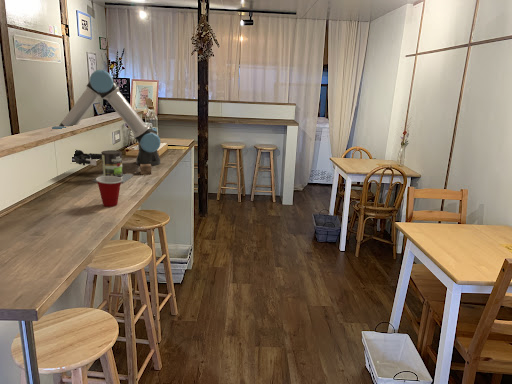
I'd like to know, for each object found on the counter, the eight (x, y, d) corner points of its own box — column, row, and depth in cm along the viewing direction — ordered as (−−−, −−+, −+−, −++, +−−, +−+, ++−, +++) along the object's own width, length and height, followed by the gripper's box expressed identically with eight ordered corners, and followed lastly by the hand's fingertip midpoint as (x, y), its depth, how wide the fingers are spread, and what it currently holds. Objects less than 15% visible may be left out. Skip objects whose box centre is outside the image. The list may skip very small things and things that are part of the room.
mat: (132, 176, 220) (132, 174, 220) (123, 183, 205) (122, 181, 204) (104, 174, 220) (104, 173, 220) (92, 181, 205) (92, 180, 205)
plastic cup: (118, 209, 166) (117, 182, 162) (93, 208, 166) (91, 180, 163) (127, 201, 176) (126, 175, 173) (103, 200, 176) (101, 174, 173)
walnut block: (151, 172, 231) (150, 163, 230) (151, 174, 226) (151, 166, 224) (140, 172, 230) (140, 164, 228) (140, 174, 224) (140, 166, 223)
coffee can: (127, 177, 214) (125, 151, 210) (111, 180, 205) (109, 154, 201) (114, 174, 219) (113, 149, 215) (98, 177, 210) (97, 151, 207)
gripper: (91, 159, 230) (120, 163, 223) (56, 167, 208) (88, 172, 201) (90, 146, 228) (120, 150, 221) (55, 153, 206) (87, 157, 199)
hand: (105, 160), depth 211 cm, fingers open, 13 cm apart
